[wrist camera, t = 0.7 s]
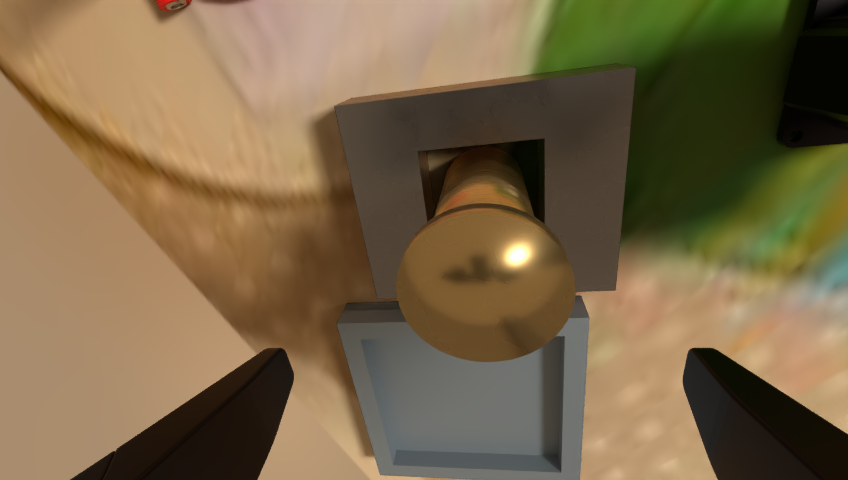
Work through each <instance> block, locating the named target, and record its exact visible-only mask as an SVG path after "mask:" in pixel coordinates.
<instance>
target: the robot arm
mask: <svg viewBox="0 0 848 480" xmlns="http://www.w3.org/2000/svg"><path fill="white" fill-rule="evenodd" d="M783 101H784V103H785V104H784V108H783V112H782V116H781V120H780V124H779V128H778V132H777V139H776V140H777V141H778V143H779V144H781V145H783V146H786V147H790V148H796V147H807V146H819V145H830V144H841V143H848V0H810V4H809V8H808V12H807V16H806V20H805V24H804V28H803V32H802V34H801V36H800V37H799V38H798V41H797V45H796V49H795V53H794V57H793V62H792V66H791V70H790V74H789V78H788V82H787V86H786V90H785V94H784V98H783ZM796 130H797V134H796V135H795V137H794V138H792V139H790V140H789V136H790V134H791V133H792V132H794V131H796ZM293 381H294V373H293V370H292V367H291V364H290V362H289V359H288V357H287V354H286V352H285V350H284V349H282V348H267V349H265V350H263V351H262V352H260V353H259V354H257V355H256V356H254V357H253V358H251V359H250V360H248V361H247V362H245V363H244V364H242V365H241V366H240V367H238V368H236V369H235V370H234V371H232V372H230V373H229V374H228V375H226V376H225V377H223V378H222V379H220V380H219V381H217V382H216V383H214V384H213V385H211V386H210V387H208V388H207V389H205V390H204V391H202V392H201V393H199V394H198V395H196V396H195V397H194V398H192V399H190V400H189V401H188V402H186V403H184V404H183V405H181V406H180V407H179V408H177V409H175V410H174V411H172V412H171V413H169V414H168V415H166V416H165V417H164V418H162V419H160V420H159V421H158V422H156V423H155V424H153V425H152V426H150V427H149V428H147V429H146V430H144V431H143V432H141V433H140V434H138V435H137V436H135V437H134V438H132V439H131V440H129V441H128V442H126V443H125V444H123V445H122V446H120V447H119V448H117V450H116V451H113V452H111V453H110V454H108V455H107V456H105V457H104V458H102V459H101V460H99V461H98V462H96V463H95V464H93V465H92V466H90V467H89V468H87V469H86V470H85V471H83V472H81V473H80V474H78V475H77V476H75V477H74V478H72V479H71V480H257V479H258V477H259V475H260V472H261V470H262V468H263V465H264V463H265V461H266V459H267V456H268V454H269V452H270V449H271V447H272V444H273V442H274V439H275V436H276V434H277V431H278V428H279V425H280V422H281V418H282V415H283V412H284V409H285V406H286V403H287V400H288V397H289V394H290V391H291V388H292V385H293ZM683 387H684V390H685V393H686V396H687V399H688V402H689V405H690V407H691V410H692V413H693V416H694V419H695V421H696V424H697V427H698V430H699V433H700V436H701V438H702V441H703V444H704V447H705V450H706V453H707V455H708V458H709V460H710V463H711V465H712V468H713V470H714V472H715V474H716V477H717V479H718V480H848V434H847V433H845V432H843V431H842V430H840V429H839V428H837V427H836V426H834V425H833V424H831V423H830V422H828V421H826V420H825V419H823V418H822V417H820V416H819V415H817V414H816V413H814V412H812V411H811V410H809V409H808V408H806V407H805V406H803V405H802V404H800V403H798V402H797V401H795V400H794V399H792V398H791V397H789V396H788V395H786V394H784V393H783V392H781V391H780V390H778V389H777V388H775V387H774V386H772V385H771V384H769V383H767V382H766V381H764V380H763V379H761V378H760V377H758V376H757V375H755V374H753V373H752V372H750V371H749V370H747V369H746V368H744V367H743V366H741V365H739V364H738V363H736V362H735V361H733V360H732V359H730V358H729V357H727V356H725V355H724V354H722V353H721V352H719V351H718V350H716V349H713V348H692V349H690V350H689V351H688V354H687V359H686V364H685V369H684V374H683Z"/></svg>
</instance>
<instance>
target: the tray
mask: <svg viewBox="0 0 848 480" xmlns="http://www.w3.org/2000/svg"><path fill="white" fill-rule="evenodd" d="M337 327H338V331H339V334H340V337H341V341H342V344H343V348H344V351H345V355H346V358H347V362H348V365H349V369H350V372H351V376H352V379H353V383H354V386H355V390H356V393H357V397H358V400H359V404H360V407H361V410H362V414H363V417H364V421H365V424H366V428H367V431H368V435H369V438H370V442H371V445H372V449H373V452H374V456H375V459H376V463H377V466H378V470H379V473H380V475H389V476H410V477H430V478H451V479H471V480H580V469H581V452H582V435H583V418H584V401H585V384H586V367H587V350H588V334H589V315H588V313H587V310H586V307H585V305H584V302H583V299H582V297H581V296H575V302H574V306H573V309H572V312H571V314H570V316H569V319H568V321H567V322H566V324H565V325H564V327H563V328H562V330H561V331H560V332H559V333H558V334H557V335H556V336H555V337H554V338H553V339H552V340H551V341H550V342H548V343H547V344H546V345H544V346H543V347H541V348H540V349H538V350H536V351H534V352H532V353H530V354H527V355H525V356H522V357H519V358H516V359H512V360H507V361H500V362H476V361H469V360H464V359H460V358H456V357H454V356H451V355H448V354H446V353H444V352H441V351H439V350H437V349H436V348H434V347H433V346H431V345H429V344H428V343H427V342H425V341H424V340H423V339H422V338H421V337H419V336H418V335H417V334H416V333H415V332H414V330H413V329H412V328H411V327H410V325H409V324H408V322H407V321H406V319H405V318H404V316H403V314H402V311H401V309H400V306H399V303H398V302H375V303H347V304H346V306H345V308H344V310H343V312H342V314H341V316H340V318H339V320H338V322H337Z"/></svg>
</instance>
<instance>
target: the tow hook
mask: <svg viewBox="0 0 848 480" xmlns="http://www.w3.org/2000/svg"><path fill="white" fill-rule="evenodd" d="M156 2H157V4H158V6H159V7H160V9H161V10H163V11H170V10H176V9H179V8H182V7H184V6H186V5H187V4H189V3H190V2H191V0H156Z"/></svg>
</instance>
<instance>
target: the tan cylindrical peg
mask: <svg viewBox="0 0 848 480" xmlns="http://www.w3.org/2000/svg"><path fill="white" fill-rule="evenodd" d="M396 291H397V299H398V303H399V306H400V309H401V311H402V314H403V316H404V318H405V319H406V321H407V322H408V324H409V325H410V327H411V328H412V329H413V330H414V332H415V333H416V334H417V335H418V336H419V337H421V338H422V339H423V340H424V341H425V342H427V343H428V344H429V345H431V346H433V347H434V348H436V349H437V350H439V351H441V352H444V353H446V354H448V355H451V356H454V357H456V358H460V359H464V360H469V361H476V362H500V361H507V360H512V359H516V358H519V357H522V356H525V355H527V354H530V353H532V352H534V351H536V350H538V349H540V348H541V347H543V346H544V345H546V344H547V343H548V342H550V341H551V340H552V339H553V338H554V337H555V336H556V335H557V334H558V333H559V332H560V331H561V330H562V328H563V327H564V325H565V324H566V322H567V321H568V319H569V316H570V314H571V312H572V309H573V306H574V302H575V294H576V289H575V279H574V274H573V271H572V268H571V265H570V263H569V260H568V257H567V255H566V252H565V250H564V247H563V246H562V244H561V242H560V241H559V239H558V238H557V237H556V235H555V234H554V233H553V232H552V230H550V229H549V228H548V227H547V226H546V225H545V224H544V223H543V222H541V221H540V220H538V219H537V218H536V217H534V214H533V210H532V207H531V203H530V199H529V196H528V192H527V189H526V185H525V181H524V178H523V174H522V171H521V169H520V167H519V165H518V163H517V162H516V161H515V159H514V158H512V157H511V156H510V155H509V154H508V153H506V152H504V151H502V150H500V149H497V148H493V147H477V148H473V149H470V150H468V151H465V152H464V153H462V154H461V155H459V156H458V157H457V158H456V159H455V160H454V161H453V162H452V164H451V165H450V167H449V169H448V171H447V174H446V177H445V180H444V184H443V188H442V191H441V195H440V198H439V202H438V206H437V209H436V213H435V216H434V217H433V218H432V219H431V220H429V221H428V222H427V223H425V224H424V225H423V226H422V227H421V228H420V229H419V230H418V231H417V232H416V234H415V235H414V236H413V238H412V239H411V241H410V242H409V244H408V246H407V248H406V251H405V253H404V256H403V259H402V262H401V264H400V267H399V270H398V275H397V281H396Z"/></svg>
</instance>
